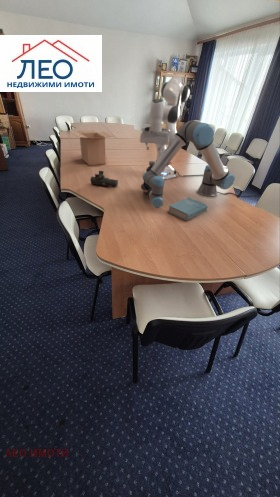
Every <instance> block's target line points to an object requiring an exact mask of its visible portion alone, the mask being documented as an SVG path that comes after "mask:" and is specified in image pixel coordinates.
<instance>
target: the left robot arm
mask: <svg viewBox="0 0 280 497" xmlns="http://www.w3.org/2000/svg"><path fill="white" fill-rule="evenodd" d="M160 90H161V91H160V92H161V93H160V94H161V97H162V98H163V99H164V100H163V99H161V98H154V99H152V100H151V103H150V107H149V108H150V109H149V122H148V124H146V125H143V126H142V127H141V129H142V130H141V131H140V134H139V142H140V143H141V144H145V147H146V150H147V151H149V150H150V147H149V145H148V144H154V145H155V148H156V159H155V163H156V162H157V160H158V159H159V158H160V156H161V155H162V154H163V152H164V151H165V150H166V148H167V147H166V146H169V144H170V143H171V142H172V140H173V139H174V135H175V134H176V132H177V131H178V130H177V128H176V127H177V122H178V121H179V118H180V110H181V105H182V104H183V103H185V102H187V101H188V99H189V96H190V87H189V86H188V85H184V84H182V81H181V79H180V78H179V77H178V76H172V77H171V78H170V79H169V80H168V81H165V82H164V83H163V84H162V86H161V89H160ZM164 101H165V102H166V103H167V104H166V105H165V102H164ZM163 124H164V125H165V127H166V128H163ZM172 164H173V162H172V161H171V162H170V163H169V164H168V165H167V167H166V168H165V169H164V171H163V172H162V173H161V174H160V176H162V177H164V180H169V179H173V178H177V175H178V177H181V175H180V173H179V172H178V171H177V170H176V169H174V168H173V167H172V166H171V165H172ZM199 176H202V177H203V174H189V175H184V177H199Z"/></svg>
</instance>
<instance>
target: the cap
mask: <svg viewBox="0 0 280 497" xmlns="http://www.w3.org/2000/svg"><path fill="white" fill-rule="evenodd" d="M155 163H156V161H154V160H150V161H149V163H148V166H150V165H151V166H154V164H155Z"/></svg>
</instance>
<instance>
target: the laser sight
mask: <svg viewBox="0 0 280 497" xmlns="http://www.w3.org/2000/svg"><path fill="white" fill-rule="evenodd" d="M89 181H90V184H91V185H94V186H101V187H112V188H113V187H114V188H117V187H118V186H119V179H114V178H109V177H105V175H104V170H98V174H97V173H95V174H94V176H90V180H89Z"/></svg>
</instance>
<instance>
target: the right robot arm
mask: <svg viewBox="0 0 280 497" xmlns="http://www.w3.org/2000/svg"><path fill="white" fill-rule="evenodd" d="M176 131H177V132H176V134H175V135H174V139H173V140H172V142H171V143H170V144H169V145H167V147H166V150H165V151H164V152H163V154H162V155H161V156H160V158H159V159H158V160H157V162H156V161H155V164H154V166H153V167H152V168H151V170H150V171H149V172H146V171H145V172H144V173H143V175H142V181H143V183H142V184H141V185H140V189H141V190H142V192H143V193H144V194H145V192H147V193H148V195H147V196H148V198H149V199H150V203H151V206H153V208H155V209H158V208H162V206H163V205H164V199H163V196H164V189H165V188H164V187H165V179H164V177H162V176H160V174H161V173H162V172H163V171H164V169H165V168H166V167H167V165H168V164H169V163H170V162H172V160H173V159H174V158H175V156H177V154H178V153H179V151H180V150H181V149H182V147H183V146H186V145H187V144H188V143H189V142H190V143H191V144H193V146H194V148H195V149H196V151H199V152H200V153H201V155H202V157H203V159H204V160H205V163H206V165H205V168H204V171H203V174H202V179H201V183H200V185H199V187H198V189H197V192H196V193H197V194H198V195H199V196H200V197H201V196H202V197H204V198H205V197H206V198H215V197H216V196H217V194H220V195H223V196H224V195H225V196H226V195H229V194H231V195H233V196H236V197H239V198H251V197H255V198H257V195H256V194H251V195H238V194H236V193H234V192H226V193H223V192H220V191H218V190H217V187H218V188H220V189H221V190H228V189H230V188H231V187H232V186H233V184H234V183H235V180H236V176H235V175H234V174H233V173H231V172H230V170H229V168H228V167H227V166H226V165H224V163H223V161H222V159H221V156H220V155H219V153H218V151H217V149H216V147H215V144H214V138H215V137H214V136H215V130H214V128H213V127H212V126H211V125H210V124H208V123H206V122H201V121H198V120H189V121H187V122H185V123H184V124H183V125H181V127H180V128H179V129H178V130H176ZM169 165H170V164H169ZM145 183H146V184H148V185H149V186H150V187H151V188H150V187H148V186H146V184H145Z"/></svg>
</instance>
